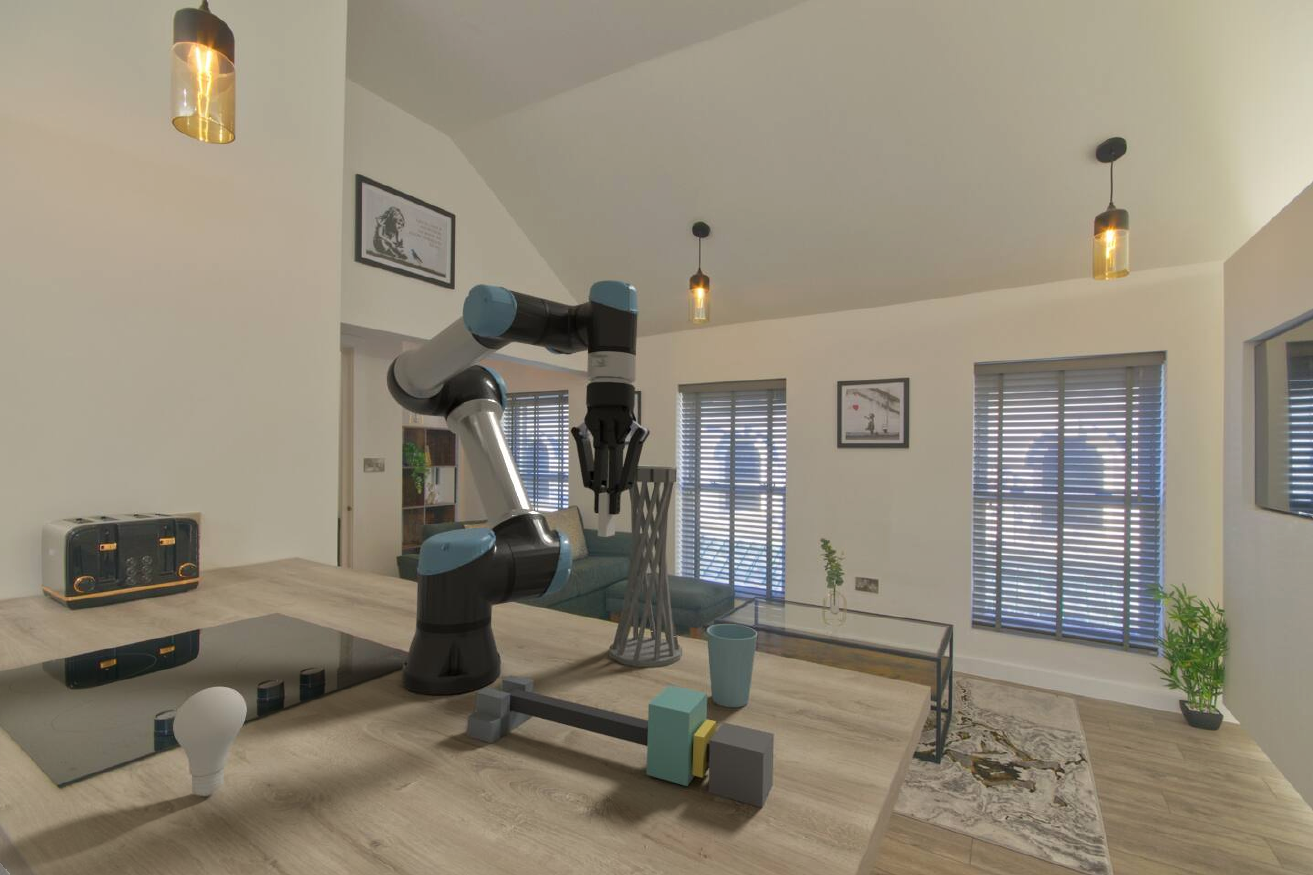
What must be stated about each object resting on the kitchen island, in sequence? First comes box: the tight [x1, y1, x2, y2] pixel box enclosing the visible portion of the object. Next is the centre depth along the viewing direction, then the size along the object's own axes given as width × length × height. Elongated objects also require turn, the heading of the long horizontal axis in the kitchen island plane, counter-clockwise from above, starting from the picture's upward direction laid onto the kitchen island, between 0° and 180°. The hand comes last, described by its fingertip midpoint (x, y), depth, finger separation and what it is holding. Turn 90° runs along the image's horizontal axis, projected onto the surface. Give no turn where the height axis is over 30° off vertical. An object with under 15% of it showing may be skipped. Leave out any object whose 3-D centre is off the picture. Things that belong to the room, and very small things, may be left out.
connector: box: [708, 721, 775, 809], centre depth 64 cm, size 6×5×6 cm
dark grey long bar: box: [510, 689, 717, 778], centre depth 70 cm, size 34×4×4 cm, turn 66°
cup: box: [706, 623, 758, 708], centre depth 87 cm, size 8×8×10 cm
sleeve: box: [646, 685, 708, 787], centre depth 67 cm, size 5×6×8 cm
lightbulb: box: [172, 686, 248, 798], centre depth 60 cm, size 6×6×11 cm
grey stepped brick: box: [466, 674, 534, 744], centre depth 78 cm, size 4×10×5 cm, turn 155°
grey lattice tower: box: [608, 464, 683, 668], centre depth 107 cm, size 14×13×35 cm
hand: (606, 535), depth 88 cm, fingers closed
